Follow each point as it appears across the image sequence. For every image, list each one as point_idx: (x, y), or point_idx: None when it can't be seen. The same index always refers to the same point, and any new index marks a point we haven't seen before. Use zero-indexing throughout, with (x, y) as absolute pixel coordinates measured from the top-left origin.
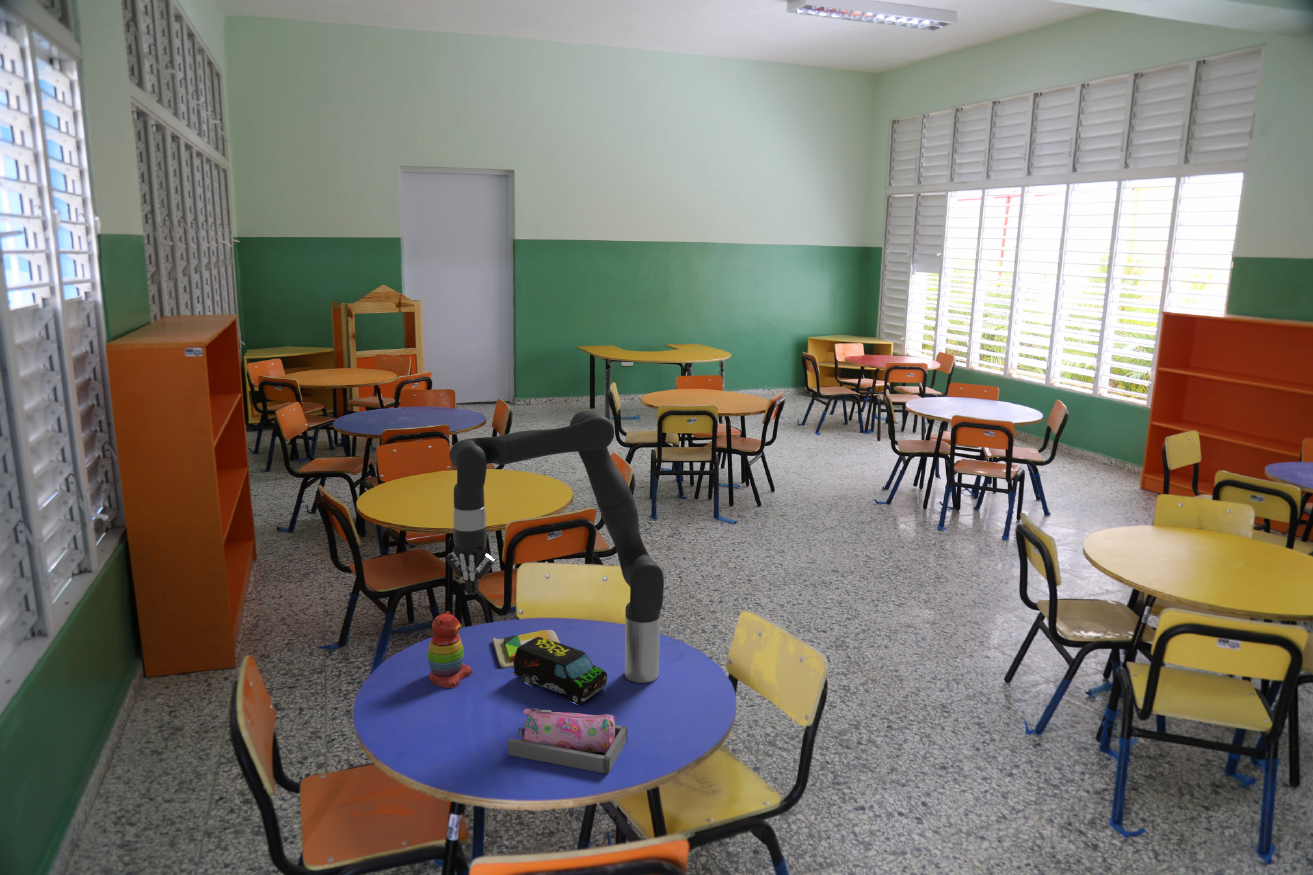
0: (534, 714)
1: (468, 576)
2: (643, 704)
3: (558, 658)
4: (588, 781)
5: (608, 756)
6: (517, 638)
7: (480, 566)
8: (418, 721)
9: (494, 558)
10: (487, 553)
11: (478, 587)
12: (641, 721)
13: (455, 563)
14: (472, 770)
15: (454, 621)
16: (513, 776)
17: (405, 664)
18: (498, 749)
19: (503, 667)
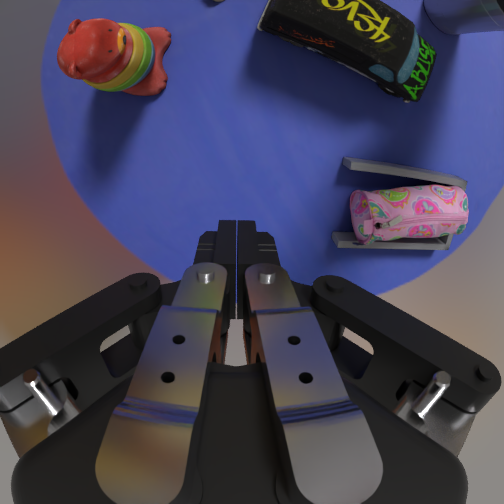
0: (380, 232)
1: (227, 337)
2: (462, 90)
3: (381, 52)
4: (422, 257)
5: (448, 244)
6: None
7: (311, 311)
8: (167, 199)
9: (489, 398)
10: (453, 468)
11: (274, 243)
12: (465, 131)
13: (94, 394)
14: (298, 276)
15: (105, 39)
16: (348, 272)
17: (57, 65)
18: (315, 230)
19: (220, 1)
